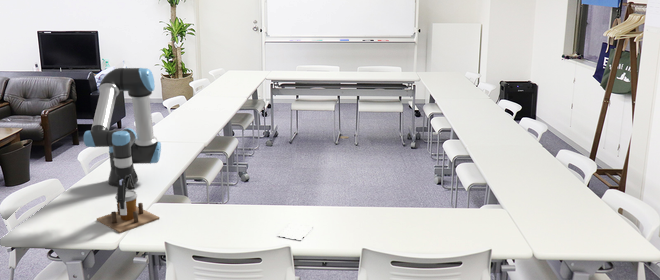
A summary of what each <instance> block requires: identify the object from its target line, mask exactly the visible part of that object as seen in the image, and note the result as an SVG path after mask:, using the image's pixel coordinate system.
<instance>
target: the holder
mask: <svg viewBox="0 0 660 280" xmlns="http://www.w3.org/2000/svg"><path fill="white" fill-rule="evenodd" d="M137 205H138V206H137ZM137 205H136V211H134V212H133V217H134V219H132V220H122V219H121V216H120V212H119V208H118V203H116V206H117V207H116V209H117V211H115V210H114V211H111V213H109V214H106V215H103V216H99V217H96V221H97V222H99V223H101V224H103V225H104V226H106V227H108V228H110V229H111V230H113V231H114V232H116V233H119V234H122V233H125V232H128V231H130V230H133V229H136V228H139V227H142V226H145V225H147V224H150V223H153V222H155V221H159V220H160V217H159V216H157V215H156V214H154V213H151V212H149V211H147V210H145V209H144V205H143V202H138V203H137Z"/></svg>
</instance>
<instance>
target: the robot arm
mask: <svg viewBox="0 0 660 280" xmlns="http://www.w3.org/2000/svg"><path fill="white" fill-rule="evenodd" d="M155 86H156V85H155V77H154V74H153V72H152V70H151V69H150V68H146V67H145V68H144V67H118V68H117V67H116V68H115V69H112V70H110V71H109V72H107V74H106V75H105V76H104V77H103V78H102V79H101V81H100V83H99V87H98V91H99V96H98V99H97V105H96V109H95V113H94V117H93V121H92V125H91V130H86V131H84V134H83V143H84V145H85V147H88V148H104V147H105V148H108V153H109V154H108V155H109V163H110V171H109V175H108V184H109V185H110V186H112V187H113V186H114V187H117V193H118V197H117V200H116V203H117V202H118V203H119V207H120V215H127V210H126V201H125V195H126V190H132V191H134V190H135V188H136V187H135V184H136V183H137V182H138V181H139V176H138V173H137V171H136V169H135V167H134V164H135V165H137V164H138V165H140V164H142V165H143V164H144V165H145V164H147V165H148V164H150V165H151V164H157V163H159V161H160V158H161V152H162V143H161V142H160V141H158V139H157V137H156V136H155V135H154V127H153V126H154V125H153V118H152V117H153V116H152V109H151V100H150V99H151V98H150V96H151V95H152V94H153V92H154V91H155ZM120 92H127V94H128V96H129V97H130V98H131V101H132V108H133V116H134V117H133V118H134V124H135V130H136V131H135V130H134V129H133V128H130V127H126V128H124V129H122V130H121V129H120V130H119V129H118V130H110V126H111V122H112V117H113V112H114V109H115V104H116V98H117V97H118V96H119V94H120ZM118 203H117V204H118Z"/></svg>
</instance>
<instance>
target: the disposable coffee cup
mask: <svg viewBox="0 0 660 280" xmlns="http://www.w3.org/2000/svg"><path fill="white" fill-rule="evenodd" d="M132 190H133V189H132ZM132 190H129V189H126V195H125V201H126V210H127V215H120V216H121V219H122V220H132V219H134V217H133V212H134V211H136V206H137V198H138V193H137V192H136V191H135V190H133V191H132ZM117 197H118V192H117V193H116V194H115V201H116V204H118V208H119V212H120V207H119V203H118V202H117Z"/></svg>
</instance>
